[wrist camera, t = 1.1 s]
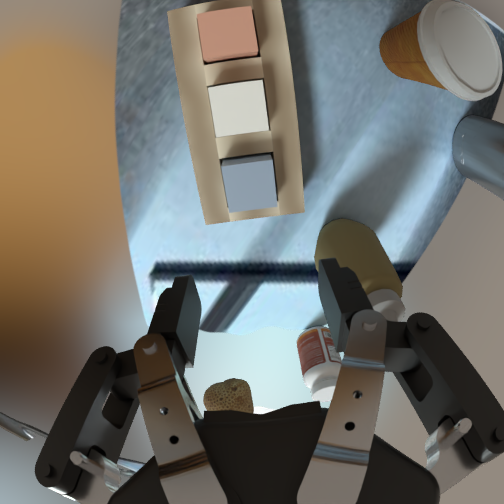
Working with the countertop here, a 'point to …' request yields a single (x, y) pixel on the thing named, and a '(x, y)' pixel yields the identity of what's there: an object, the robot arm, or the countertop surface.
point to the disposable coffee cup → (445, 50)
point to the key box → (204, 76)
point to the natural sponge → (229, 396)
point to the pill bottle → (319, 362)
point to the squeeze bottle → (363, 263)
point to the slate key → (249, 182)
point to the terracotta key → (227, 34)
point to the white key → (238, 108)
